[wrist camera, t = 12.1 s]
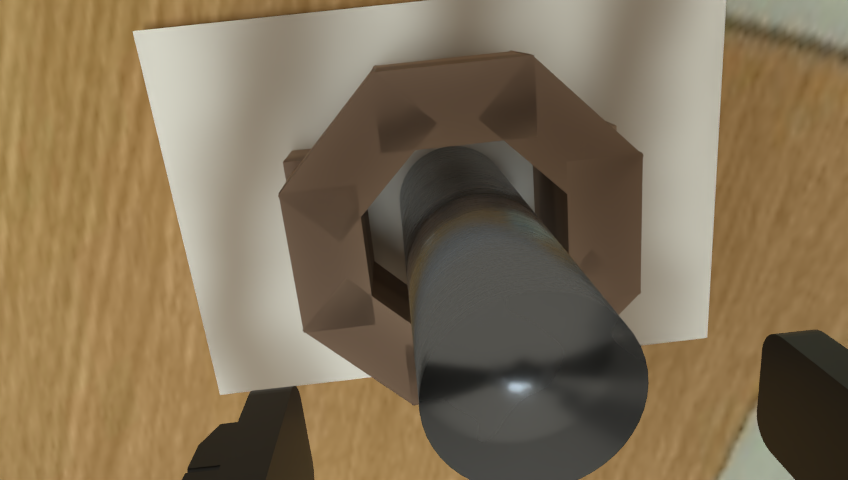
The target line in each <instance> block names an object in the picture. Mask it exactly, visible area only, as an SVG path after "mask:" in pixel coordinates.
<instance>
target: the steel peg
mask: <svg viewBox="0 0 848 480" xmlns="http://www.w3.org/2000/svg"><path fill="white" fill-rule="evenodd" d="M400 212H401V223H402V233H403V243H404V254H405V264H406V275H407V285H408V296H409V306H410V317H411V327H412V337H413V348H414V358H415V369H416V379H417V390H418V400H419V411H420V416H421V421H422V425H423V428H424V431H425V433H426V436H427V438H428V440H429V442H430V443H431V445H432V447H433V448H434V450H435V451H436V452H437V454H438V455H439V456H440V458H441V459H442V460H443V461H444V462H445V463H446V464H448V465H449V466H450V467H451V468H452V469H454V470H455V471H456V472H458V473H459V474H460V475H462V476H464V477H466V478H468V479H469V480H578V479H581V478H582V477H584V476H586V475H588V474H590V473H592V472H593V471H595V470H596V469H598V468H599V467H601V466H602V465H604V464H605V463H606V462H607V461H608V460H610V459H611V458H612V457H613V456H614V455H615V454H616V453H617V452H618V451H619V450H620V449H621V448H622V447H623V446H624V445H625V443H626V442H627V440H628V439H629V438H630V436H631V435H632V434H633V432H634V430H635V428H636V426H637V425H638V423H639V421H640V418H641V416H642V413H643V411H644V407H645V403H646V399H647V393H648V369H647V365H646V360H645V356H644V354H643V351H642V348H641V346H640V344H639V342H638V340H637V339H636V337H635V335H634V334H633V332H632V331H631V330H630V328H629V327H628V326H627V325H626V323H625V322H624V321H623V320H622V319H621V317H620V316H619V315H618V314H617V312H616V311H615V310H614V309H613V308H612V306H611V305H610V304H609V303H608V301H607V300H606V299H605V298H604V297H603V295H602V294H601V293H600V292H599V290H598V289H597V288H596V287H595V286H594V284H593V283H592V282H591V281H590V279H589V278H588V277H587V276H586V275H585V273H584V272H583V271H582V270H581V269H580V267H579V266H578V265H577V264H576V262H575V261H574V260H573V259H572V258H571V256H570V255H569V254H568V253H567V251H566V250H565V249H564V248H563V247H562V245H561V244H560V243H559V242H558V240H557V239H556V238H555V237H554V236H553V234H552V233H551V232H550V231H549V229H548V228H547V227H546V226H545V225H544V223H543V222H542V221H541V220H540V218H539V217H538V216H537V215H536V214H535V212H534V211H533V210H532V209H531V207H530V206H529V205H528V204H527V203H526V201H525V200H524V199H523V198H522V196H521V195H520V194H519V193H518V192H517V190H516V189H515V188H514V187H513V185H512V184H511V183H510V182H509V181H508V179H507V178H506V177H505V176H504V174H503V173H502V172H501V171H500V170H499V168H498V167H497V166H496V165H495V163H494V162H493V161H492V160H490V159H489V158H488V157H487V156H485V155H484V154H482V153H480V152H479V151H477V150H474V149H471V148H467V147H461V146H449V147H443V148H439V149H436V150H433V151H431V152H429V153H427V154H426V155H424V156H423V157H421V158H420V159H419V160H418V161H416V163H415V164H414V165H413V166H412V167H411V168H410V170H409V171H408V172H407V174H406V176H405V178H404V181H403V183H402V186H401V191H400Z"/></svg>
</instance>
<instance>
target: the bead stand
mask: <svg viewBox="0 0 848 480" xmlns="http://www.w3.org/2000/svg"><path fill="white" fill-rule="evenodd" d="M725 14H726V0H426V1H416V2H407V3H397V4H388V5H378V6H369V7H359V8H350V9H340V10H330V11H321V12H311V13H302V14H292V15H283V16H273V17H264V18H254V19H245V20H235V21H225V22H216V23H206V24H197V25H187V26H178V27H168V28H159V29H149V30H139V31H133V35H134V39H135V43H136V47H137V51H138V55H139V60H140V64H141V68H142V72H143V76H144V80H145V84H146V89H147V93H148V97H149V101H150V105H151V109H152V113H153V118H154V122H155V126H156V130H157V134H158V138H159V143H160V147H161V151H162V155H163V159H164V163H165V167H166V172H167V176H168V180H169V184H170V188H171V192H172V197H173V201H174V205H175V209H176V213H177V217H178V221H179V226H180V230H181V234H182V238H183V242H184V246H185V251H186V255H187V259H188V263H189V267H190V271H191V275H192V280H193V284H194V288H195V292H196V296H197V300H198V305H199V309H200V313H201V317H202V321H203V325H204V329H205V334H206V338H207V342H208V346H209V350H210V354H211V358H212V363H213V367H214V371H215V375H216V379H217V383H218V388H219V392H220V395H222V394H231V393H240V392H248V391H253V390H262V389H271V388H280V387H289V386H299V385H308V384H316V383H325V382H333V381H342V380H350V379H359V378H368V377H372V378H374V379H375V380H377V381H378V382H380V383H381V384H383V385H384V386H386V387H387V388H389V389H390V390H392V391H393V392H395V393H396V394H398V395H399V396H401V397H402V398H404V399H405V400H407V401H408V402H410V403H411V404H412V405H414V406H415V405H418V404H419V400H418V390H417V379H416V369H415V358H414V348H413V337H412V327H411V317H410V306H409V296H408V285H407V275H406V264H405V254H404V243H403V233H402V223H401V212H400V191H401V186H402V183H403V181H404V178H405V176H406V174H407V172H408V171H409V170H410V168H411V167H412V166H413V165H414V164H415V163H416V161H418V160H419V159H420V158H421V157H423V156H424V155H426V154H427V153H429V152H431V151H433V150H436V149H439V148H443V147H449V146H461V147H467V148H471V149H474V150H477V151H479V152H480V153H482V154H484V155H485V156H487V157H488V158H489V159H490V160H492V161H493V162H494V163H495V165H496V166H497V167H498V168H499V170H500V171H501V172H502V173H503V174H504V176H505V177H506V178H507V179H508V181H509V182H510V183H511V184H512V185H513V187H514V188H515V189H516V190H517V192H518V193H519V194H520V195H521V196H522V198H523V199H524V200H525V201H526V203H527V204H528V205H529V206H530V207H531V209H532V210H533V211H534V212H535V214H536V215H537V216H538V217H539V218H540V220H541V221H542V222H543V223H544V225H545V226H546V227H547V228H548V229H549V231H550V232H551V233H552V234H553V236H554V237H555V238H556V239H557V240H558V242H559V243H560V244H561V245H562V247H563V248H564V249H565V250H566V251H567V253H568V254H569V255H570V256H571V258H572V259H573V260H574V261H575V262H576V264H577V265H578V266H579V267H580V269H581V270H582V271H583V272H584V273H585V275H586V276H587V277H588V278H589V279H590V281H591V282H592V283H593V284H594V286H595V287H596V288H597V289H598V290H599V292H600V293H601V294H602V295H603V297H604V298H605V299H606V300H607V301H608V303H609V304H610V305H611V306H612V308H613V309H614V310H615V311H616V312H617V314H618V315H619V316H620V317H621V319H622V320H623V321H624V322H625V323H626V325H627V326H628V327H629V328H630V330H631V331H632V332H633V334H634V335H635V337H636V339H637V340H638V342H639V344H640V346H641V345H649V344H658V343H666V342H675V341H683V340H692V339H700V338H707V331H708V313H709V296H710V278H711V260H712V243H713V225H714V208H715V190H716V172H717V155H718V137H719V119H720V102H721V84H722V67H723V49H724V31H725Z"/></svg>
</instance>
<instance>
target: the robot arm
mask: <svg viewBox="0 0 848 480" xmlns="http://www.w3.org/2000/svg"><path fill="white" fill-rule="evenodd" d="M757 421H758V426H759V430H760V433H761V436H762V439H763V441H764V443H765V445H766V446H767V448H768V449H769V451H770V452H771V453H772V454H773V455H774V457H775V458H776V459H777V460H778V461H779V462H780V463H781V464H782V465H783V467H784V468H785V469H786V470H787V471H788V472H789V473H790V474H791V475H792V477H793V478H794V479H795V480H848V349H846V348H845V347H844V346H842V345H841V344H839V343H838V342H836V341H835V340H834V339H832V338H831V337H829V336H828V335H826V334H825V333H823V332H822V331H819V330H806V331H797V332H788V333H779V334H772V335H769V336H768V337H767V338H766V339H765V341H764V344H763V348H762V359H761V371H760V382H759V394H758V406H757ZM182 480H314V469H313V461H312V456H311V451H310V445H309V440H308V435H307V429H306V424H305V419H304V413H303V408H302V403H301V398H300V394H299V391H298V389H297V387H296V386H289V387H280V388H271V389H262V390H253V391H251V392H250V394H249V396H248V398H247V401H246V403H245V406H244V408H243V411H242V413H241V416H240V418H239V421H238V422H235V423H226V424H220V425H219V426H218V427H217V428H216V429H215V430H214V431H213V432H212V433H211V434H210V435H209V436H208V437H207V438H206V439H205V440H204V441H203V442H202V443H200V444H199V445H198V448H197V450H196V452H195V454H194V456H193V458H192V460H191V462H190V464H189V466H188V473H185V475H184V477H183V479H182Z"/></svg>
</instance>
